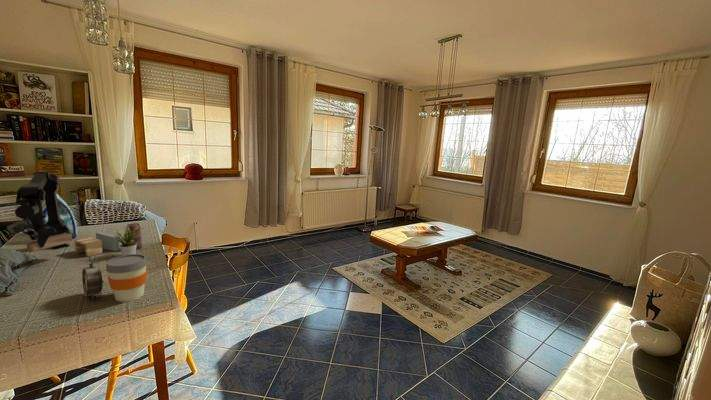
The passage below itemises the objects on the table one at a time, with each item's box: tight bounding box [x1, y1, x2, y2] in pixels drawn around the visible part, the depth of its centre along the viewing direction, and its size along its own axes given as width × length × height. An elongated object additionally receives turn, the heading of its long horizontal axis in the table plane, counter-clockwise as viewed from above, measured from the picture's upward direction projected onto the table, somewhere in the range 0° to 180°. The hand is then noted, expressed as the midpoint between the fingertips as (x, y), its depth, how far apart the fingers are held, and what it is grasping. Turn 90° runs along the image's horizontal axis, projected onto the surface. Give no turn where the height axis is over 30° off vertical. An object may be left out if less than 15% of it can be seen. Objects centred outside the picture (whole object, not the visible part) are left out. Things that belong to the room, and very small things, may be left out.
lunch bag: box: [42, 193, 79, 239], centre depth 174 cm, size 22×17×26 cm
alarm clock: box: [81, 256, 104, 302], centre depth 112 cm, size 11×5×16 cm, turn 49°
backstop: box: [95, 231, 120, 252], centre depth 161 cm, size 16×2×8 cm, turn 69°
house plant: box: [112, 226, 143, 256], centre depth 152 cm, size 14×14×16 cm
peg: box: [25, 233, 73, 252], centre depth 139 cm, size 4×15×4 cm, turn 166°
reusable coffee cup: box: [105, 253, 148, 303], centre depth 113 cm, size 13×13×15 cm
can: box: [125, 222, 143, 251], centre depth 163 cm, size 6×6×14 cm
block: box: [73, 236, 103, 258], centre depth 153 cm, size 11×6×7 cm, turn 69°
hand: (39, 246), depth 135 cm, fingers closed on peg, 4 cm apart
